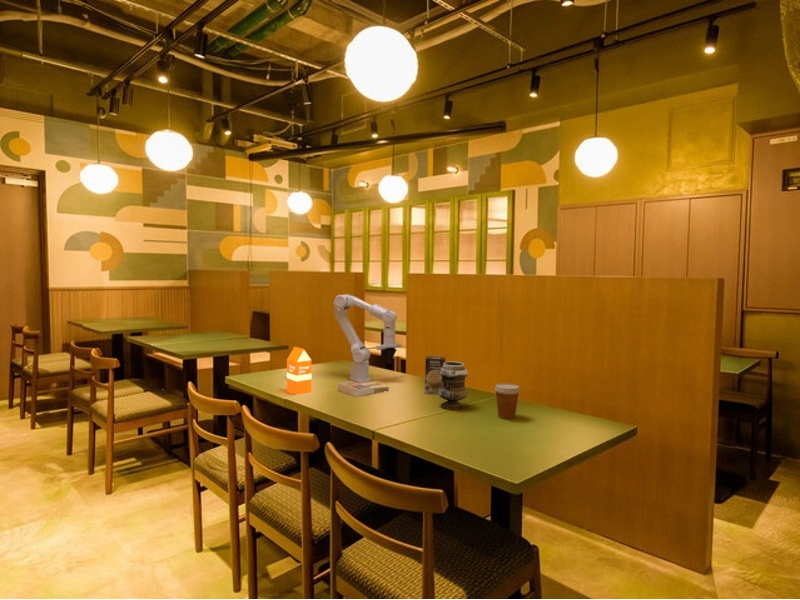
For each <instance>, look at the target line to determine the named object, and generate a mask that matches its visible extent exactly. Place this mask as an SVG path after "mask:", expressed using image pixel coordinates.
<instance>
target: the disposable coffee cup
mask: <svg viewBox="0 0 800 600" xmlns="http://www.w3.org/2000/svg"><path fill="white" fill-rule="evenodd" d="M494 390H495V394H496V396H495V398H496V405H497V406H496V407H497V416H498V417H499V418H500V417H501V418H500V419H503V418H506V419H505V420H512V419H511V418H513V419H515V418H516V412H517V408H518V407H517V406H518V400H519V394H520V391H521V389H520V386H519V385H517V384H514V383H504V382H503V383H498V384H495V388H494Z"/></svg>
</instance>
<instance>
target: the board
mask: <svg viewBox="0 0 800 600" xmlns="http://www.w3.org/2000/svg"><path fill="white" fill-rule="evenodd" d="M357 383H359V384H362V386H364V385H365V386H368V387H373V390H374V394H380V393H379V392H381V393H385V392H384V391H386V392H389V391H390V386H388V385H384V384H382V383H378V382H375V381H373V380H369V381H363V382H357Z"/></svg>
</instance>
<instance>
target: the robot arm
mask: <svg viewBox="0 0 800 600" xmlns="http://www.w3.org/2000/svg"><path fill="white" fill-rule="evenodd" d="M332 305H333V306H334V307H333V308H334V317H335V319H336V321H337V322H338V323H337V324H338V325H339V327H340V328H341V330H342V332H343V334H344V336H345V338H346V339H347V341H348V344H349V345H350V352H351V354H352V355H351V357H352V359H353V361H352V362H351V363H350V367H349V368H350V370H349V373H350V374H349V375H350V376H349V378H348V380H352V381H355V382H356V383H358V382H364V381H373V378H369V377H370V376H369V374H370V373H369V372H370V371H369V370H370V368H369V365H370V362H369V359H370V357H371V351H370V350H369V348H368V347H367V346H366V345H365V344H364V343H363V342H362V341H361V340H360V338H359V336H358V334H357V332H356V331H355V329H354V326H353V325H352V323H351V320H350V319H349V318H348V315H347V313H348V310H349V308H350V307H353V306H354V307H358V308H359V309H362V310H365V311H368V313H369V314H370V316H372V317H375V318H377V319H379V320H381V321H383V344H378V345H376V349H375V350H377V351H381V350H382V352H383V354H384V357H385V361H386V364H392V362H393V359H394V357H395V354H396V352H397V348H398V349H399V348H401V349H402V348H403V344H402V343H400V342H399V343H397V342H396V320H397V319H398V315H397V313H396V312H395V311H394V310H390V309H389V308H385V307H383V306H381V305H380V304H379V303H378V304H376V303H374V304H373V305H372V304H370V303H369V302H368V303H367V302H366V301H364V300H362V299H360V298H359V297H357V296H355V295H351V294H348V293H345V294H338V295H337V296H336V297H335V298H334V301H333V304H332Z"/></svg>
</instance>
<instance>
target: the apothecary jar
mask: <svg viewBox="0 0 800 600" xmlns="http://www.w3.org/2000/svg"><path fill="white" fill-rule="evenodd" d="M439 374H440V376H441V377H442V385H441V387H440V389H439V390H438V394H437V395H439V397H440V398H442V399H443V400H446V401H444V402H441V403H440V407H441V408H443V409H445V410H460V409H464V408H465V404H464V403H461V402H460V401H462V400H464V399H466V398H467V396H468V390H467V389H466V382H465V381H466V378H467V377H468V375H469V372H468V370H467V368H465V363H463V362H462V361H453V360H451V361H450V360H449V361H445V362H444V363H443V367H442V368H441V369H440V370H439Z"/></svg>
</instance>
